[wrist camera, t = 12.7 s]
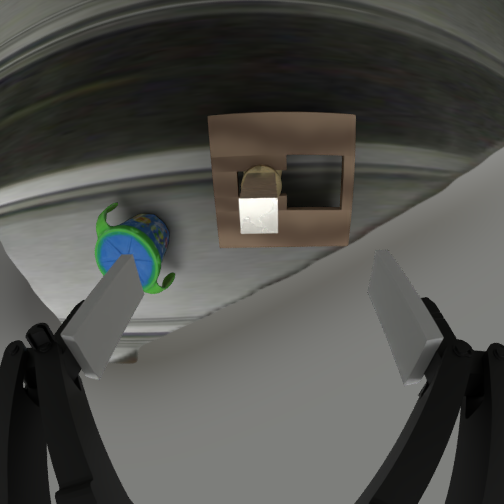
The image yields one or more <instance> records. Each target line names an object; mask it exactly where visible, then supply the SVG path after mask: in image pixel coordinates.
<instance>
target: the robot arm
mask: <svg viewBox="0 0 504 504" xmlns="http://www.w3.org/2000/svg"><path fill="white" fill-rule="evenodd" d="M368 295H369V297H370V299H371V301H372V304H373V306H374V309H375V311H376V313H377V316H378V318H379V321H380V323H381V325H382V328H383V330H384V333H385V335H386V338H387V340H388V343H389V346H390V348H391V351H392V353H393V356H394V359H395V362H396V364H397V367H398V370H399V373H400V375H401V378H402V381H403V384H404V385H410V384H415V383H419V382H420V380H421V379H422V377H423V375H424V374H425V377H426V379H427V382H426V384H425V385H424V387H423V389H422V390H421V391H420V393H419V399H418V401H417V403H416V405H415V407H414V409H413V411H412V413H411V415H410V417H409V419H408V421H407V423H406V425H405V427H404V429H403V430H402V432H401V434H400V436H399V438H398V439H397V442H396V443H395V445H394V446H393V448H392V450H391V451H390V453H389V455H388V456H387V458H386V460H385V461H384V463H383V465H382V466H381V467H380V469H379V470H378V472H377V473H376V475H375V477H374V478H373V479H372V481H371V482H370V484H369V485H368V486H367V488H366V489H365V490H364V492H363V493H362V495H361V496H360V497H359V499H358V500H357V501H356V502H355V504H418V502H419V500H420V499H421V497H422V495H423V493H424V491H425V490H426V488H427V486H428V484H429V482H430V480H431V478H432V476H433V474H434V472H435V470H436V468H437V466H438V464H439V462H440V459H441V457H442V455H443V452H444V450H445V448H446V446H447V443H448V441H449V438H450V435H451V433H452V430H453V427H454V425H455V422H456V419H457V416H458V413H459V410H460V407H461V412H460V424H459V434H458V441H457V449H456V455H455V461H454V466H453V472H452V477H451V481H450V486H449V490H448V494H447V498H446V501H445V504H504V346H503V345H502V344H499V343H493V344H491V345H490V346H489V347H488V349H487V351H474V350H473V349H472V347H471V346H470V345H469V344H468V343H467V342H465V341H463V340H459V339H456V337H455V335H454V334H453V332H452V330H451V328H450V327H449V325H448V323H447V322H446V320H445V319H444V318H443V315H442V314H441V313H440V311H439V309H438V308H437V306H436V304H435V303H434V302H432V301H431V300H430V299H429V298H427V297H425V298H420V296H419V295H418V293H417V292H416V290H415V289H414V287H413V285H412V284H411V282H410V281H409V279H408V278H407V276H406V275H405V273H404V272H403V270H402V269H401V268H400V266H399V264H398V263H397V262H396V260H395V259H394V257H393V256H392V254H391V253H390V252H389V250H376V251H375V256H374V262H373V267H372V273H371V278H370V283H369V288H368ZM143 296H144V292H143V288H142V285H141V282H140V278H139V275H138V271H137V268H136V264H135V260H134V257H133V254H126V255H121V256H120V257H119V258H118V259H117V261H116V262H115V263H114V264H113V265H112V267H111V268H110V269H109V270H108V272H107V273H106V274H105V275H104V276H103V278H102V279H101V280H100V282H99V283H98V284H97V285H96V287H95V288H94V289H93V290H92V292H91V293H90V294H89V296H88V297H87V298H86V300H82V301H81V302H80V303H78V304H77V305H76V306H75V307H74V308H73V310H72V311H71V312H70V314H69V315H68V316H67V319H65V321H64V322H63V323H62V325H61V326H60V328H59V329H58V330H57V332H56V333H55V335H53V333H52V331H51V330H50V328H49V326H48V325H47V324H46V323H39V324H36V325H34V326H32V327H31V328H30V329H29V330H28V332H27V333H26V339H27V341H28V342H29V344H30V345H31V347H32V348H26V347H25V345H24V344H23V342H22V341H20V340H17V341H14V342H11V343H10V344H9V345H8V346H7V348H6V349H5V352H4V355H3V358H2V362H1V365H0V504H51V500H50V491H49V481H48V470H47V469H48V468H47V446H48V450H49V454H50V457H51V461H52V464H53V468H54V471H55V475H56V478H57V481H58V484H59V491H57V492H56V493H55V499H56V503H57V504H133V502H132V501H131V500H130V499H129V497H128V496H127V493H126V492H125V490H124V488H123V486H122V484H121V482H120V480H119V478H118V476H117V474H116V472H115V470H114V468H113V466H112V463H111V461H110V459H109V456H108V454H107V452H106V449H105V447H104V445H103V442H102V440H101V438H100V435H99V432H98V429H97V427H96V424H95V421H94V418H93V416H92V413H91V410H90V407H89V404H88V400H87V397H86V394H85V390H84V387H83V384H82V380H81V378H80V376H79V375H78V374H79V372H80V370H81V369H82V371H83V372H84V374H85V375H86V377H89V378H93V379H97V380H100V378H101V376H102V373H103V371H104V370H105V367H106V365H107V363H108V361H109V359H110V357H111V355H112V354H113V352H114V350H115V348H116V346H117V344H118V342H119V340H120V338H121V336H122V334H123V332H124V330H125V329H126V327H127V325H128V323H129V321H130V319H131V317H132V316H133V314H134V312H135V310H136V308H137V307H138V305H139V303H140V301H141V299H142V298H143ZM23 382H24V383H25V388H23Z"/></svg>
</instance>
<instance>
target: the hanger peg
mask: <svg viewBox="0 0 504 504" xmlns="http://www.w3.org/2000/svg"><path fill="white" fill-rule="evenodd" d="M281 175H282V170H275V169H274V168H272V167H270V166H267V165H255V166H253V167H251V168H250V169H248V170H247V171H244V176H243V179H242V182H241V189H242V190H241V193H240V196H239V211H240V225H241V234H258V233H278V196H279V195H280V193H281V189H282V183H281Z"/></svg>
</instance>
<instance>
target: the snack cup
mask: <svg viewBox="0 0 504 504" xmlns="http://www.w3.org/2000/svg"><path fill="white" fill-rule="evenodd" d="M117 205H118V203H113V204H111V205H110V206H108V207H107V208H106V209H105V210H104V211H103V212H102V213H101V214H100V215H99V217H98V220H97V223H96V232H97V236H98V240H97V243H96V246H95V258H96V262H97V265H98V267H99V269H100V271H101V273H102V274H103V276H104V275H105V274H106V273H107V272H108V270H109V269H110V268H111V267H112V265H113V264H114V263H115V262H116V261H117V259H118V258H119V257H120V256H121V255H126V254H133V257H134V260H135V264H136V268H137V271H138V275H139V278H140V282H141V285H142V288H143V291H144V292H146V293H150V294H156V293H160V292H162V291H163V290H165V289H167V288H168V287H169V286H170V285H171V284H172V282H173V280H174V278H175V273H170V274H168V275H167V276H166V277H165V278H164V280H163V283H162V287H161V286H159V285H158V283H157V278H158V276H159V274H160V270H161V263H162V260H163V257H164V254H165V251H166V249H167V245H168V242H169V231H168V230H167V228H166V225H165V224H164V223H163V222H162V221H161V220H160V219H159V218H158V217H157V216H155V215H154V214H139V215H137V216H135V217H133V218H131V219H129V220H127V221H126V222H124V223H122V224H120V225H117V226H110V225H108V224H107V222H106V215H107V213H108V212H110V211H112V210H113V209H114V208H115V207H116V206H117Z"/></svg>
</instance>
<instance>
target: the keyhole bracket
mask: <svg viewBox="0 0 504 504" xmlns="http://www.w3.org/2000/svg"><path fill="white" fill-rule="evenodd" d="M208 128H209V141H210V153H211V165H212V176H213V187H214V197H215V207H216V217H217V227H218V236H219V245H220V248H246V247H306V246H348V241H349V232H350V222H351V211H352V199H353V184H354V166H355V136H356V115H352V114H342V113H328V112H249V113H232V114H220V115H212V116H208ZM286 155H340V156H342V174H341V194H340V207H287V194H286V193H280V195H279V196H278V233H258V234H241V225H240V211H239V196H240V194H239V185H238V171H247V170H248V169H250V168H251V167H253V166H255V165H267V166H270V167H272V168H274V169H275V170H287V167H286Z"/></svg>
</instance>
